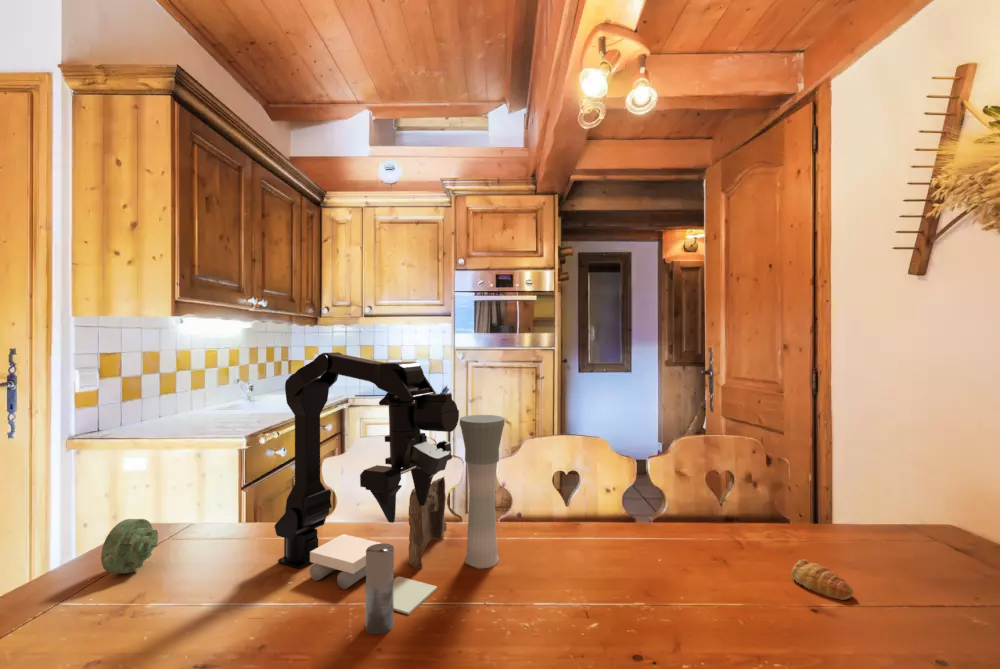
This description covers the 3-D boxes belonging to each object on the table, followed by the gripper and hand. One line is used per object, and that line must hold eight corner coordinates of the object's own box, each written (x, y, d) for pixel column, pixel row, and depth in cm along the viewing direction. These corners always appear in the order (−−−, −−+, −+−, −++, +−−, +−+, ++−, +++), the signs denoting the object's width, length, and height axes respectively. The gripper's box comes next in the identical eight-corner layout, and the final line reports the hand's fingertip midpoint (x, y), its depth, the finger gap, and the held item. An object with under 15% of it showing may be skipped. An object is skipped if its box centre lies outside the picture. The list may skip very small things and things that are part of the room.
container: (496, 547, 104) (496, 413, 104) (510, 567, 95) (510, 421, 95) (454, 553, 101) (455, 416, 101) (465, 574, 92) (465, 423, 92)
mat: (367, 602, 82) (367, 599, 82) (398, 578, 90) (398, 576, 90) (408, 614, 78) (408, 612, 78) (437, 588, 86) (437, 586, 86)
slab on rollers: (307, 578, 90) (308, 552, 90) (344, 556, 99) (344, 533, 99) (351, 591, 86) (351, 564, 86) (385, 567, 95) (386, 542, 95)
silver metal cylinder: (359, 630, 74) (360, 552, 74) (377, 615, 78) (378, 541, 78) (381, 637, 72) (381, 557, 72) (398, 622, 76) (399, 546, 76)
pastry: (861, 597, 84) (861, 576, 84) (839, 606, 81) (839, 585, 81) (808, 573, 93) (807, 554, 93) (787, 581, 90) (786, 561, 90)
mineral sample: (421, 569, 94) (421, 494, 94) (402, 567, 95) (402, 493, 95) (448, 535, 110) (448, 471, 110) (432, 533, 111) (432, 470, 111)
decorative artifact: (140, 558, 98) (141, 511, 98) (173, 558, 98) (174, 511, 98) (100, 583, 88) (101, 531, 88) (137, 583, 88) (138, 531, 88)
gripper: (409, 441, 74) (412, 539, 74) (467, 422, 91) (470, 502, 91) (356, 438, 79) (359, 529, 79) (420, 420, 96) (423, 496, 95)
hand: (407, 513), depth 86 cm, fingers open, 9 cm apart
